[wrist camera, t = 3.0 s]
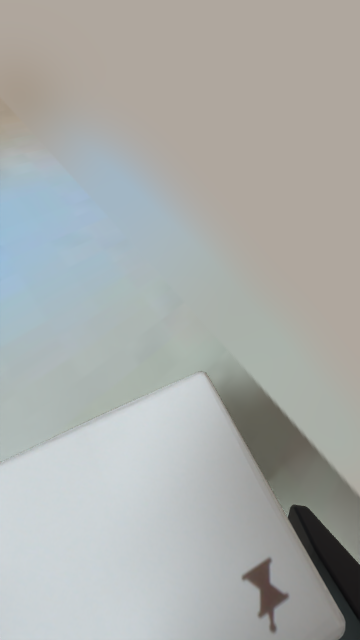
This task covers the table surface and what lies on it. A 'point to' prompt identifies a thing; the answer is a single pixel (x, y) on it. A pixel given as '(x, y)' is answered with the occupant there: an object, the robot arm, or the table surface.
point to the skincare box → (153, 533)
